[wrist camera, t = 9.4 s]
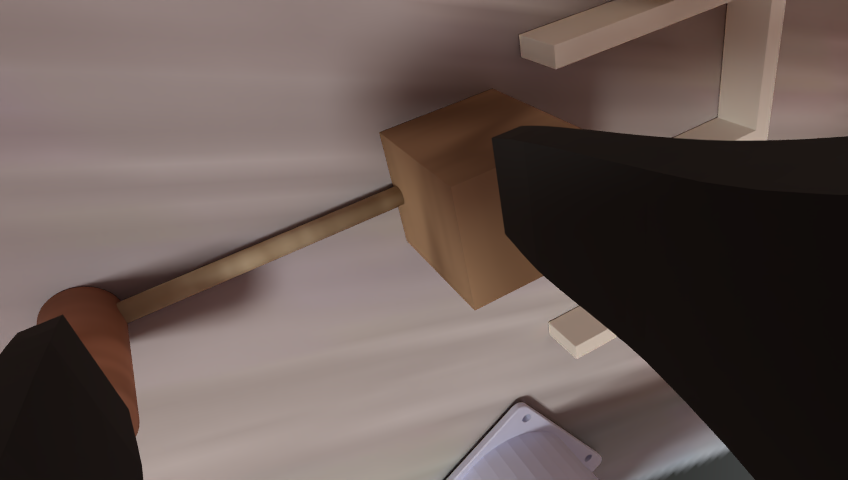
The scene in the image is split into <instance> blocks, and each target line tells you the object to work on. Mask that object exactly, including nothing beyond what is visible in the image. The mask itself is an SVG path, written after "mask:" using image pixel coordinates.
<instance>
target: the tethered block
mask: <svg viewBox="0 0 848 480" xmlns="http://www.w3.org/2000/svg"><path fill="white" fill-rule="evenodd" d="M519 126H553V127H565V128H575V129H581V128H579V127H577V126H575V125H572V124H570V123H568V122H566V121H563V120H561V119H559V118H557V117H555V116H552V115H550V114H548V113H546V112H543V111H541V110H539V109H537V108H535V107H532V106H530V105H528V104H526V103H523V102H521V101H519V100H517V99H515V98H512V97H510V96H508V95H506V94H503V93H501V92H499V91H497V90H495V89H490V90H487V91H485V92H482V93H480V94H477V95H475V96H472V97H469V98H467V99H464V100H462V101H459V102H457V103H454V104H451V105H449V106H446V107H444V108H441V109H439V110H436V111H433V112H431V113H428V114H426V115H423V116H421V117H418V118H415V119H413V120H410V121H408V122H405V123H403V124H400V125H397V126H395V127H392V128H390V129H387V130H385V131H382V132H379V133H380V137H381V141H382V145H383V149H384V153H385V157H386V161H387V165H388V168H389V172H390V176H391V180H392V184H393V187H392V188H389V189H387V190H385V191H382V192H380V193H378V194H375V195H373V196H370V197H368V198H366V199H363V200H361V201H359V202H356V203H354V204H351V205H349V206H347V207H344V208H342V209H339V210H337V211H335V212H332V213H330V214H328V215H325V216H323V217H320V218H318V219H316V220H313V221H311V222H308V223H306V224H304V225H301V226H299V227H297V228H294V229H292V230H289V231H287V232H285V233H282V234H280V235H277V236H275V237H273V238H270V239H268V240H266V241H263V242H261V243H258V244H256V245H254V246H251V247H249V248H246V249H244V250H242V251H239V252H237V253H235V254H232V255H230V256H227V257H225V258H223V259H220V260H218V261H215V262H213V263H211V264H208V265H206V266H204V267H201V268H199V269H196V270H194V271H192V272H189V273H187V274H185V275H182V276H180V277H177V278H175V279H173V280H170V281H168V282H165V283H163V284H161V285H158V286H156V287H154V288H151V289H149V290H146V291H144V292H142V293H139V294H137V295H134V296H132V297H130V298H127V299H125V300H123V301H120V300H119V299H118V298H117V297H116V296H115V295H113V294H112V293H110V292H108V291H106V290H103V289H100V288H95V287H75V288H71V289H67V290H64V291H62V292H60V293H57V294H56V295H54V296H53V297H51V298H50V299H49V300H48V301H47V302H46V303H45V304H44V305H43V306H42V308H41V310H40V312H39V314H38V318H37V325H38V324H41V323H43V322H45V321H48V320H50V319H53V318H55V317H58V316H60V315H62V314H63V315H64V317H65V318H66V320H67V321H68V322H69V324H70V325H71V327H72V328H73V330H74V331H75V332H76V334H77V335H78V337H79V338H80V340H81V341H82V343H83V344H84V345H85V347H86V348H87V350H88V351H89V353H90V354H91V355H92V357H93V358H94V360H95V361H96V363H97V364H98V366H99V367H100V368H101V370H102V371H103V373H104V374H105V376H106V377H107V378H108V380H109V381H110V383H111V384H112V386H113V387H114V389H115V390H116V391H117V393H118V394H119V396H120V397H121V399H122V400H123V401H124V403H125V404H126V406H127V407H128V409H129V412H130V416H131V420H132V424H133V428H134V432H135V436H136V435H137V433H138V429H139V414H138V406H137V397H136V389H135V381H134V373H133V365H132V357H131V349H130V341H129V333H128V325H127V323H129V322H132V321H134V320H136V319H139V318H141V317H143V316H146V315H148V314H150V313H153V312H155V311H157V310H160V309H162V308H164V307H166V306H169V305H171V304H173V303H176V302H178V301H180V300H183V299H185V298H187V297H190V296H192V295H194V294H197V293H199V292H201V291H204V290H206V289H208V288H211V287H213V286H215V285H218V284H220V283H222V282H225V281H227V280H229V279H231V278H234V277H236V276H238V275H241V274H243V273H245V272H248V271H250V270H252V269H255V268H257V267H259V266H262V265H264V264H266V263H269V262H271V261H273V260H276V259H278V258H280V257H283V256H285V255H287V254H290V253H292V252H294V251H296V250H299V249H301V248H303V247H306V246H308V245H310V244H313V243H315V242H317V241H320V240H322V239H324V238H327V237H329V236H331V235H334V234H336V233H338V232H341V231H343V230H345V229H348V228H350V227H352V226H355V225H357V224H359V223H362V222H364V221H366V220H368V219H371V218H373V217H375V216H378V215H380V214H382V213H385V212H387V211H389V210H392V209H394V208H396V207H398V208H399V212H400V216H401V220H402V223H403V227H404V231H405V235H406V239H407V241H408V243H409V244H410V245H411V246H412V247H413V248H414V249H415V250H416V251H417V252H418V253H419V254H420V255H421V256H422V257H423V258H424V259H425V260H426V261H427V262H428V263H429V264H430V265H431V266H432V267H433V268H434V269H435V270H436V271H437V272H438V273H439V274H440V275H441V276H442V277H443V278H444V279H445V280H446V281H447V282H448V284H449V285H450V286H451V287H452V288H453V289H454V290H455V291H456V292H457V293H458V294H459V295H460V296H461V297H462V298H463V299H464V300H465V301H466V302H467V303H468V304H469V305H470V306H471V307H472V308H473V309H474V310H477V309H479V308H481V307H483V306H485V305H487V304H489V303H491V302H493V301H494V300H496V299H498V298H500V297H502V296H504V295H506V294H508V293H510V292H512V291H514V290H516V289H518V288H520V287H522V286H524V285H526V284H528V283H530V282H532V281H534V280H536V279H538V278H540V277H542V276H543V275H542V274H541V273H540V272H539V271H538V270H537V269H536V268H535V267H534V266H533V265H532V264H531V263H530V262H529V261H528V260H527V259H526V258H525V256H524V255H523V254H522V253H521V252H520V251H519V250H518V248H517V247H516V246H515V245H514V244H513V243H512V242H511V240H510V239H509V238H508V237H507V236H506V235H505V231H504V223H503V216H502V209H501V202H500V195H499V188H498V181H497V174H496V167H495V160H494V152H493V145H492V137H495V136H497V135H500V134H502V133H505V132H507V131H509V130H512V129H514V128H517V127H519Z"/></svg>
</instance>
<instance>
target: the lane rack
mask: <svg viewBox="0 0 848 480" xmlns="http://www.w3.org/2000/svg"><path fill="white" fill-rule="evenodd" d="M726 3H727V14H726V25H725V37H724V49H723V61H722V73H721V84H720V96H719V108H718V118H715V119H713V120H711V121H709V122H707V123H704V124H702V125H700V126H698V127H696V128H693V129H691V130H689V131H687V132H685V133H682V134H680V135H678V136H676V137H674V138H683V139H699V140H726V141H753V140H767V138H768V130H769V123H770V116H771V108H772V101H773V94H774V86H775V79H776V72H777V64H778V57H779V50H780V42H781V35H782V28H783V20H784V13H785V6H786V0H614V1H611V2H608V3H605V4H603V5H600V6H597V7H594V8H592V9H589V10H586V11H583V12H580V13H578V14H575V15H572V16H569V17H567V18H564V19H561V20H558V21H556V22H553V23H550V24H547V25H545V26H542V27H539V28H536V29H533V30H531V31H528V32H525V33H522V34H520V35H519V40H520V50H521V57H522V58H525V59H528V60H531V61H533V62H536V63H539V64H542V65H545V66H547V67H550V68H553V69H558V68H561V67H563V66H566V65H569V64H571V63H574V62H576V61H579V60H581V59H584V58H587V57H589V56H592V55H594V54H597V53H599V52H602V51H605V50H607V49H610V48H612V47H615V46H617V45H620V44H623V43H625V42H628V41H630V40H633V39H635V38H638V37H641V36H643V35H646V34H648V33H651V32H654V31H656V30H659V29H661V28H664V27H666V26H669V25H672V24H674V23H677V22H679V21H682V20H684V19H687V18H690V17H692V16H695V15H697V14H700V13H702V12H705V11H708V10H710V9H713V8H715V7H718V6H720V5H723V4H726ZM548 323H549V332H550V335H551V336H552V337H553V338H554V339H555V340H556V341H557V342H558V343H559V344H560V345H561V346H563V347H564V348H565V349H566V350H567V351H568V352H569V353H570V354H571V355H572V356H573V357H575V358H576V359H578V358H580V357H581V356H583V355H585V354H587V353H589V352H591V351H592V350H594V349H596V348H598V347H600V346H601V345H603V344H605V343H607V342H609V341H610V340H612V339H614V338H616V337H617V336H616V335H615V334H614V333H613V332H611V331H610V330H609V329H608V328H606V327H605V326H604V325H603V324H602V323H600V322H599V321H598V320H597V319H595V318H594V317H593V316H592V315H590V314H589V313H588V312H587V311H586V310H584V309H583V308H582V307H581V306H579V307H577V308H575V309H573V310H571V311H569V312H567V313H565V314H564V315H562V316H560V317H558V318H556V319H554V320H552V321H550V322H548Z"/></svg>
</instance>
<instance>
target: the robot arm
mask: <svg viewBox="0 0 848 480" xmlns="http://www.w3.org/2000/svg"><path fill="white" fill-rule="evenodd" d="M492 145H493V152H494V160H495V167H496V174H497V181H498V188H499V195H500V202H501V209H502V216H503V223H504V231H505V235H506V236H507V237H508V238H509V239H510V240H511V242H512V243H513V244H514V245H515V246H516V247H517V248H518V250H519V251H520V252H521V253H522V254H523V255H524V256H525V258H526V259H527V260H528V261H529V262H530V263H531V264H532V265H533V266H534V267H535V268H536V269H537V270H538V271H539V272H540V273H541V274H542V275H543V276H545V277H546V278H547V279H548V280H549V281H550V282H552V283H553V284H554V285H555V286H556V287H558V288H559V289H560V290H561V291H562V292H564V293H565V294H566V295H567V296H568V297H570V298H571V299H572V300H573V301H575V302H576V303H577V304H578V305H579V306H581V307H582V308H583V309H584V310H586V311H587V312H588V313H589V314H590V315H592V316H593V317H594V318H595V319H597V320H598V321H599V322H600V323H602V324H603V325H604V326H605V327H606V328H608V329H609V330H610V331H611V332H613V333H614V334H615V335H616V336H617V337H619V338H620V339H621V340H622V341H624V342H625V343H626V344H627V345H628V346H629V347H630V348H632V349H633V350H634V351H635V352H636V353H637V354H638V355H639V356H641V357H642V358H643V359H644V360H645V361H646V362H647V363H648V364H649V365H650V366H651V367H652V368H653V369H654V370H655V371H656V372H657V373H658V374H659V375H660V376H661V377H662V378H663V379H664V380H665V381H666V382H667V383H668V384H669V385H670V386H671V387H672V388H673V389H674V390H675V391H676V393H677V394H678V395H679V396H680V397H681V398H682V399H683V400H684V401H685V402H686V403H687V404H688V405H689V406H690V407H691V408H692V409H693V410H694V412H695V413H696V414H697V415H698V416H699V417H700V418H701V419H702V420H703V421H704V422H705V423H706V425H707V426H708V427H709V428H710V429H711V430H712V431H713V432H714V433H715V434H716V435H717V436H718V438H719V439H720V440H721V441H722V442H723V443H724V444H725V445H726V446H727V448H728V449H729V450H730V451H731V452H732V453H733V455H734V456H735V457H736V458H737V459H738V460H739V461H740V463H741V464H742V465H743V466H744V467H745V468H746V470H747V471H748V472H749V473H750V474H751V475H752V476H753V478H754V479H755V480H848V136H846V137H832V138H817V139H800V140H753V141H726V140H699V139H683V138H666V137H654V136H642V135H632V134H622V133H613V132H603V131H594V130H585V129H575V128H565V127H553V126H519V127H517V128H514V129H512V130H509V131H507V132H505V133H502V134H500V135H497V136H495V137H492ZM601 461H602V457H601V456H600V455H599V453H598V452H596V451H595V450H593V449H592V448H590V447H589V446H587V445H586V444H584V443H583V442H581V441H580V440H578V439H577V438H575V437H574V436H573V435H571V434H570V433H568V432H567V431H565V430H564V429H562V428H561V427H559V426H558V425H556V424H555V423H553V422H552V421H550V420H549V419H547V418H546V417H545V416H543V415H542V414H540V413H539V412H537V411H536V410H534V409H533V408H531V407H530V406H528V405H527V404H525V403H523V402H520V403H517V404H515V405H514V406H513V407H512V408H511V409H510V410H509V411H508V412H507V413H506V414H505V415H504V416H503V418H502V419H501V420H500V421H499V422H498V423H497V424H496V425H495V426H494V427H493V429H492V430H491V431H490V432H489V433H488V434H487V435H486V436H485V437H484V438H483V440H482V441H481V442H480V443H479V444H478V445H477V446H476V447H475V448H474V449H473V451H472V452H471V453H470V454H469V455H468V456H467V457H466V458H465V459H464V460H463V462H462V463H461V464H460V465H459V466H458V467H457V468H456V469H455V470H454V471H453V472H452V474H451V475H450V476H449V477H448V478H447V479H446V480H599V479H598V478H597V477H596V476H595V474H594V473H593V471H594V470H595V469H596V468H597V467H598V466H599V465H600V463H601ZM0 480H143V472H142V464H141V459H140V455H139V450H138V445H137V441H136V436H135V432H134V428H133V424H132V420H131V416H130V412H129V409H128V407H127V406H126V404H125V403H124V401H123V400H122V399H121V397H120V396H119V394H118V393H117V391H116V390H115V389H114V387H113V386H112V384H111V383H110V381H109V380H108V378H107V377H106V376H105V374H104V373H103V371H102V370H101V368H100V367H99V366H98V364H97V363H96V361H95V360H94V358H93V357H92V355H91V354H90V353H89V351H88V350H87V348H86V347H85V345H84V344H83V343H82V341H81V340H80V338H79V337H78V335H77V334H76V332H75V331H74V330H73V328H72V327H71V325H70V324H69V322H68V321H67V320H66V318H65V317H64V315H63V314H62V315H60V316H58V317H55V318H53V319H50V320H48V321H45V322H43V323H41V324H38V325H36V326H33V327H31V328H28V329H26V330H24V331H21V332H19V333H17V334H16V335H15V337H14V338H13V339H12V340H11V341H10V342H9V344H8V345H7V346H6V347H5V349H4V350H3V351H2V353H1V354H0Z"/></svg>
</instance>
